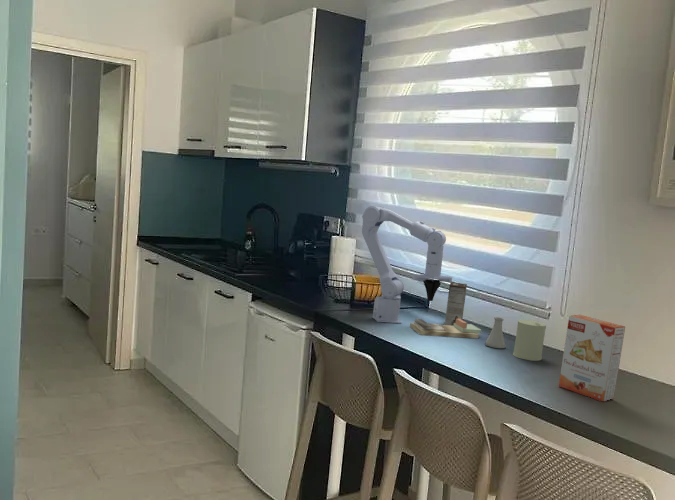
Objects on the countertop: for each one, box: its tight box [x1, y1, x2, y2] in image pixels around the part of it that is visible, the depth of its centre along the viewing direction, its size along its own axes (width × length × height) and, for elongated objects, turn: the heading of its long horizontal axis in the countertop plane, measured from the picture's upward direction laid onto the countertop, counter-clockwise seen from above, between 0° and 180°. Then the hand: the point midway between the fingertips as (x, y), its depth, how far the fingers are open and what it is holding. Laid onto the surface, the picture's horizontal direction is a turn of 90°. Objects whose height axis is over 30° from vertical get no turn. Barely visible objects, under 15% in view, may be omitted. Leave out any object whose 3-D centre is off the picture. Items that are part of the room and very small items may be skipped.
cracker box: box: [558, 314, 626, 402], centre depth 192 cm, size 14×6×21 cm, turn 40°
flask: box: [484, 316, 506, 350], centre depth 239 cm, size 7×7×10 cm
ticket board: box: [409, 318, 480, 339], centre depth 252 cm, size 22×12×3 cm, turn 101°
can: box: [512, 319, 547, 362], centre depth 228 cm, size 9×9×12 cm
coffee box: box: [444, 281, 467, 326], centre depth 267 cm, size 9×6×16 cm
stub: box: [454, 319, 482, 334], centre depth 254 cm, size 7×9×3 cm
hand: (429, 300), depth 256 cm, fingers closed
